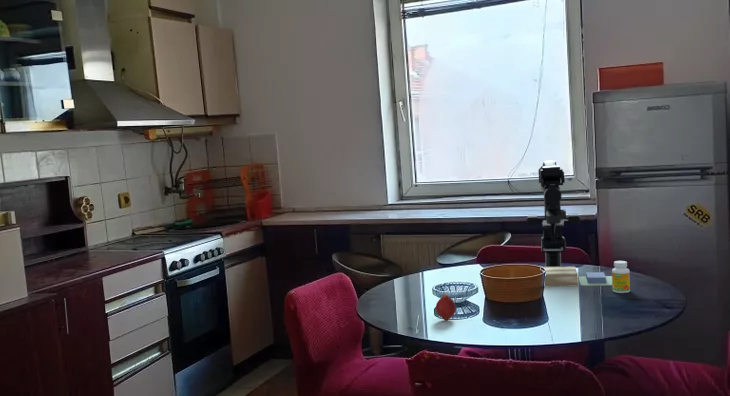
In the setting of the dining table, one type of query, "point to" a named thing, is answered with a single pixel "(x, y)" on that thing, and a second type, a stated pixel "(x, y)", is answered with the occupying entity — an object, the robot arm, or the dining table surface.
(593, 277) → the periwinkle blue block
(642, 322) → the dining table surface
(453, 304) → the onion
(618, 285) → the supplement bottle
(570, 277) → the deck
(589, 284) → the mat
